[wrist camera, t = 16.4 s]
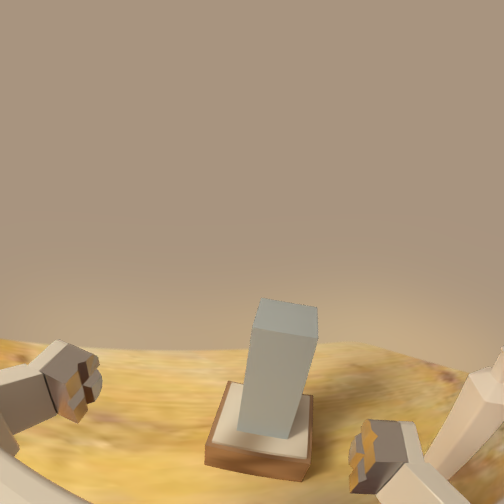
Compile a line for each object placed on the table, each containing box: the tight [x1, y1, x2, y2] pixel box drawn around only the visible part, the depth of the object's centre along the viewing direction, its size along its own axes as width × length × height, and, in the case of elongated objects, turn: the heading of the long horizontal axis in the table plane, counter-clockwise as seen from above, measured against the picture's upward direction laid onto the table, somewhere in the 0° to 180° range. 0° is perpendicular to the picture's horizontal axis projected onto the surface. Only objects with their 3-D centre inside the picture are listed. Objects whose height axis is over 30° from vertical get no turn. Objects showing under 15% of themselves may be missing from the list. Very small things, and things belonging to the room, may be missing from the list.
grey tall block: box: [237, 298, 318, 439], centre depth 23 cm, size 4×4×10 cm
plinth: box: [205, 381, 313, 482], centre depth 25 cm, size 8×8×3 cm
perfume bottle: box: [424, 346, 504, 481], centre depth 17 cm, size 5×4×15 cm
